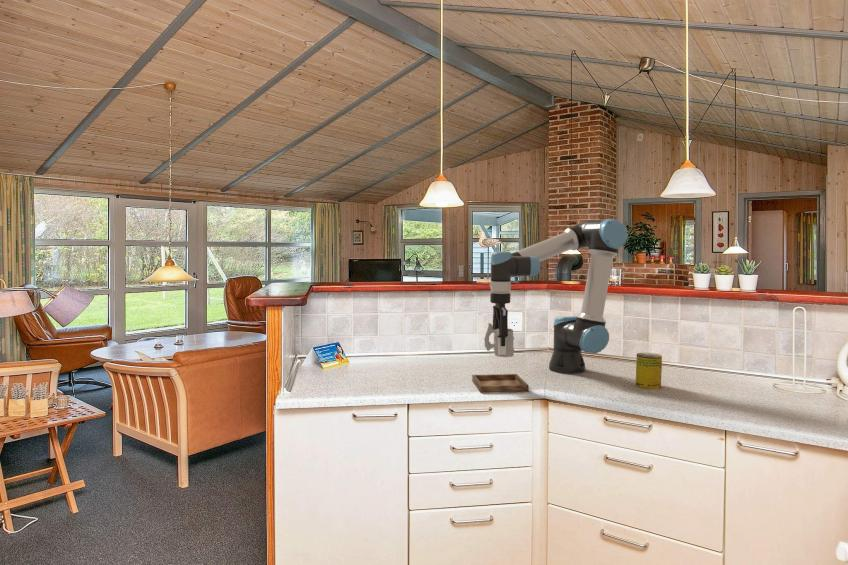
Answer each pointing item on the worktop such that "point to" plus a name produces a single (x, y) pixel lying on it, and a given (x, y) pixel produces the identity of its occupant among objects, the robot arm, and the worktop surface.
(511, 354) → the mug
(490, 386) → the tray
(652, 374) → the yellow tin can
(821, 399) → the worktop surface
